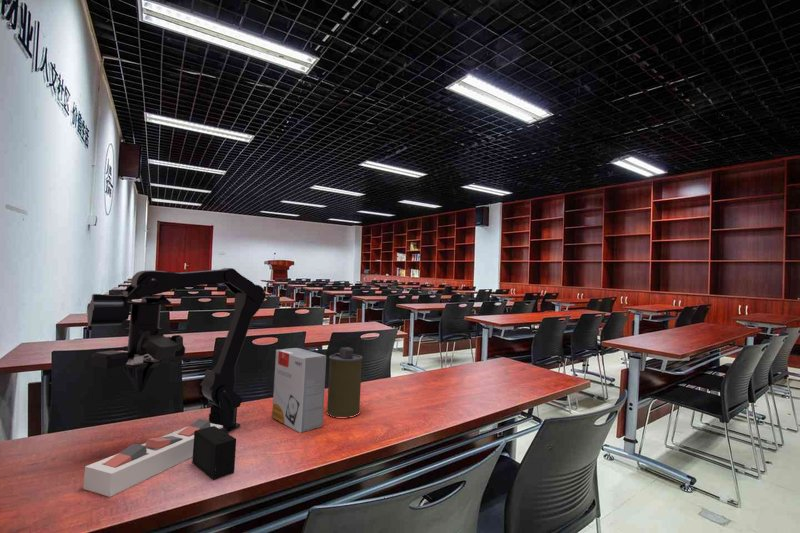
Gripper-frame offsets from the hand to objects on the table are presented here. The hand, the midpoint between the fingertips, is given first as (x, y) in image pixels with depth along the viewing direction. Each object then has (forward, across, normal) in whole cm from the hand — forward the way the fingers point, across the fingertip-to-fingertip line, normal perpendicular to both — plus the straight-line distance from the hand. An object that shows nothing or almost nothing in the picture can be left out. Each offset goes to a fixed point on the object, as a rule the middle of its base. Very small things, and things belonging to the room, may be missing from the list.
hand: (139, 392), depth 86 cm
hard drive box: (+13, +30, -23) cm, 40 cm away
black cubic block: (+13, +1, -23) cm, 26 cm away
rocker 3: (+9, +6, -11) cm, 16 cm away
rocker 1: (+9, -10, -11) cm, 17 cm away
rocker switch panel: (+13, -1, -11) cm, 17 cm away
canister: (+13, +43, -31) cm, 55 cm away
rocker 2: (+9, -2, -11) cm, 14 cm away
